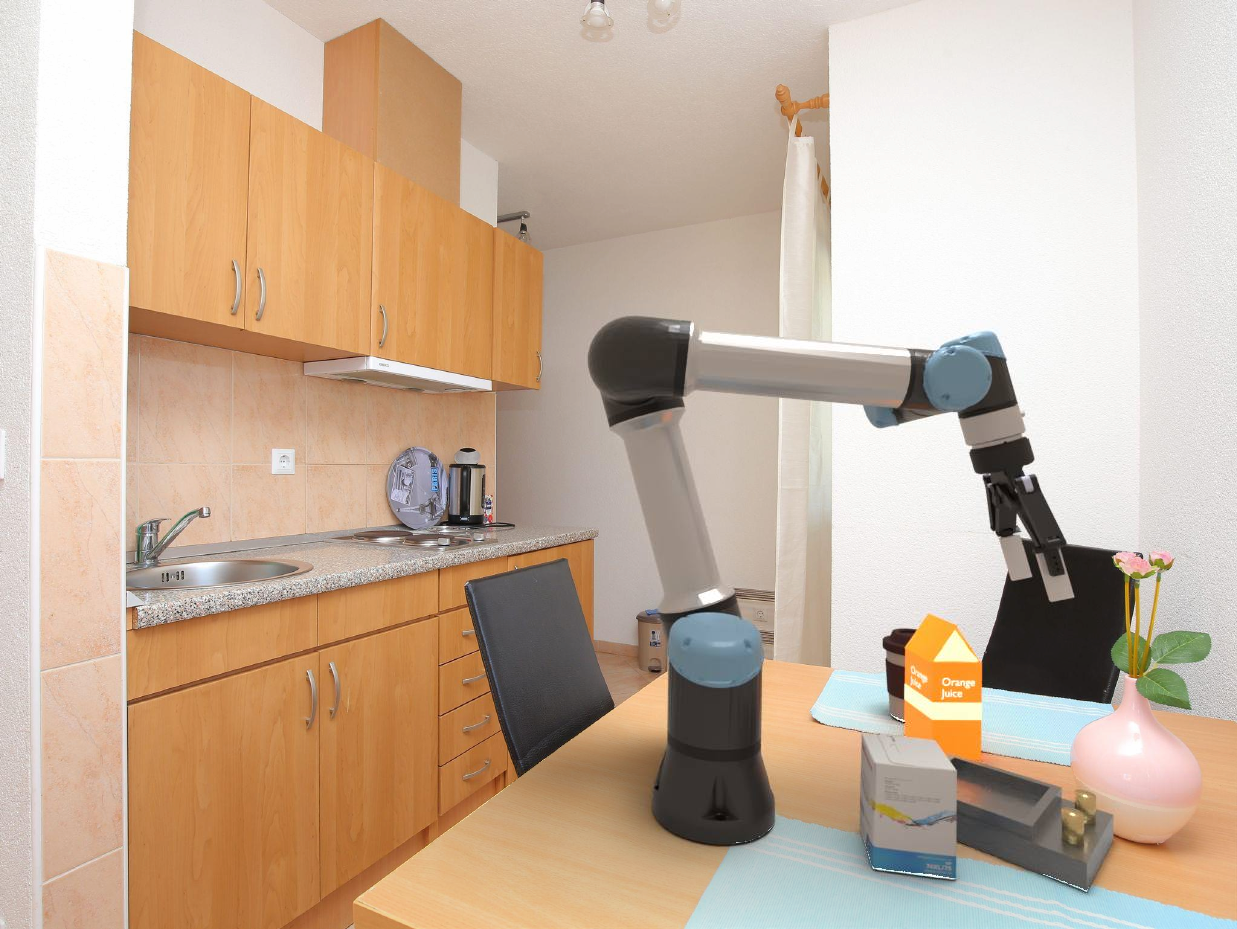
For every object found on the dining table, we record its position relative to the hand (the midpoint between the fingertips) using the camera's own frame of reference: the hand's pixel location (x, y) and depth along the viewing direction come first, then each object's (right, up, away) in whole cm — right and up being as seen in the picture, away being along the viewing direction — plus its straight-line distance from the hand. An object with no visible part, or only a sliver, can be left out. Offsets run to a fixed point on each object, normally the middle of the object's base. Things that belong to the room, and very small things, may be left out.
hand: (1040, 588), depth 90 cm
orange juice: (-8, -27, +11) cm, 30 cm away
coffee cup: (-7, -27, +23) cm, 36 cm away
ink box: (-27, -27, -18) cm, 42 cm away
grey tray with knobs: (-13, -27, -12) cm, 32 cm away
